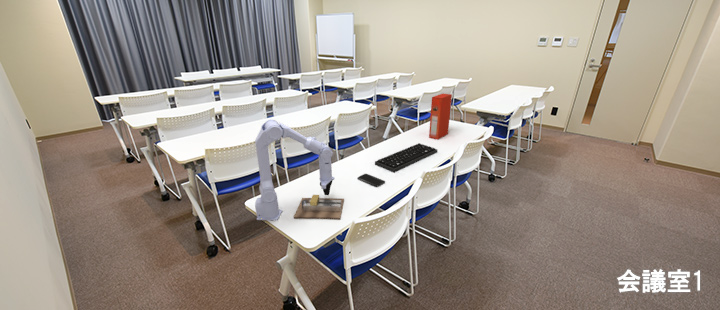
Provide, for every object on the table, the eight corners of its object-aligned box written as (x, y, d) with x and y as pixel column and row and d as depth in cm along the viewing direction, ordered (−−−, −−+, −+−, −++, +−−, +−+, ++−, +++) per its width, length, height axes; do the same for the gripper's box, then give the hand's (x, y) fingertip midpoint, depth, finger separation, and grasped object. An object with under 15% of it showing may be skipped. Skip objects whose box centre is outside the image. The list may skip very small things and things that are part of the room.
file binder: (428, 137, 226) (432, 97, 213) (438, 132, 238) (442, 93, 225) (438, 139, 221) (442, 98, 209) (447, 134, 233) (452, 94, 221)
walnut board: (293, 218, 130) (293, 216, 129) (302, 199, 144) (302, 197, 144) (340, 219, 128) (340, 217, 128) (344, 200, 143) (344, 198, 143)
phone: (376, 186, 154) (356, 177, 163) (376, 188, 155) (356, 179, 164) (386, 181, 159) (365, 173, 169) (386, 183, 160) (365, 174, 169)
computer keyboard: (393, 173, 171) (394, 167, 169) (374, 165, 182) (374, 159, 180) (437, 153, 199) (437, 148, 197) (418, 147, 209) (418, 142, 208)
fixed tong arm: (300, 211, 133) (300, 204, 132) (303, 205, 137) (302, 199, 136) (340, 211, 132) (339, 205, 131) (341, 206, 136) (341, 200, 135)
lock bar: (310, 205, 131) (309, 202, 130) (313, 198, 137) (312, 194, 136) (316, 205, 131) (316, 202, 130) (319, 198, 137) (319, 194, 136)
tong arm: (309, 207, 136) (308, 201, 135) (310, 204, 138) (309, 199, 136) (341, 207, 135) (340, 202, 134) (341, 205, 137) (341, 200, 136)
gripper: (331, 176, 128) (333, 202, 134) (336, 163, 142) (337, 187, 147) (316, 176, 129) (318, 202, 134) (321, 162, 142) (323, 187, 147)
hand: (327, 194), depth 141 cm, fingers closed
